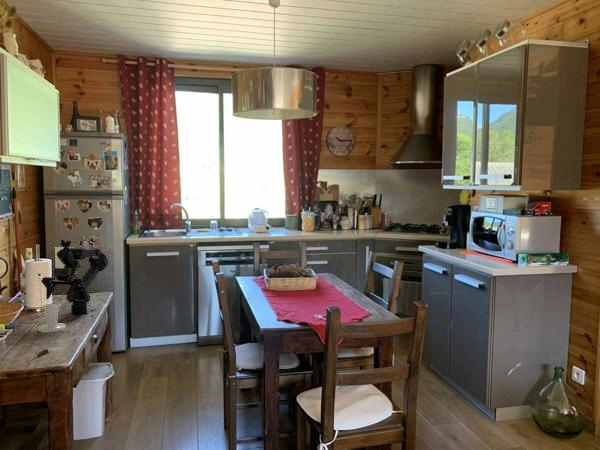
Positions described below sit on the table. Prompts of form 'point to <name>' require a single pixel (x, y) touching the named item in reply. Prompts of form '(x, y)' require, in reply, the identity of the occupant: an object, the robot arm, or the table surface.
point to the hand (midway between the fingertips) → (57, 299)
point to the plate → (48, 330)
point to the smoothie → (51, 314)
